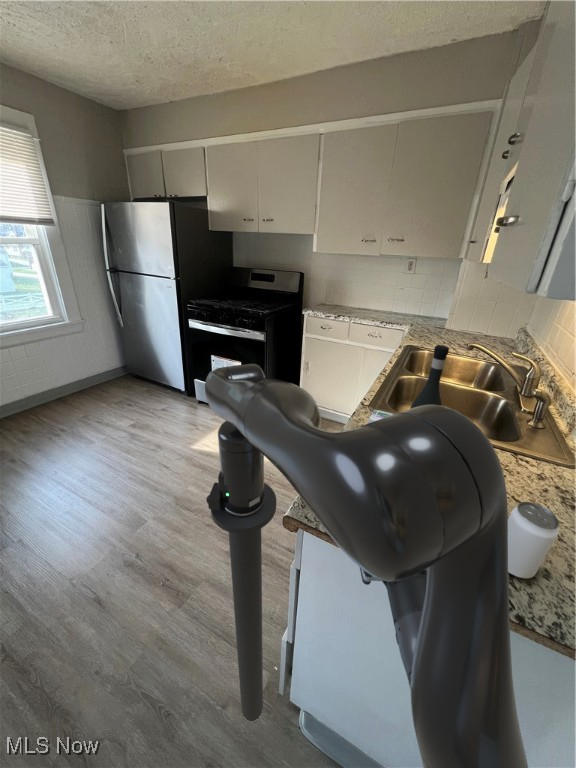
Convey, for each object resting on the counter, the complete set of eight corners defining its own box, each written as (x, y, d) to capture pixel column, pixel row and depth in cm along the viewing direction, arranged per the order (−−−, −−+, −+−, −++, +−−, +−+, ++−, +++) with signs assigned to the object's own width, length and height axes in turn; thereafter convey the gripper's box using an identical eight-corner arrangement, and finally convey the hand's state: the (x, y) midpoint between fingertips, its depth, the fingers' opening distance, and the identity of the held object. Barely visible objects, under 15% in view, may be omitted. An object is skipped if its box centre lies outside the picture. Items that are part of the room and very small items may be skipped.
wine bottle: (437, 452, 86) (467, 347, 73) (422, 464, 81) (451, 354, 68) (410, 438, 91) (434, 339, 78) (395, 448, 86) (417, 345, 74)
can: (513, 543, 60) (536, 497, 55) (544, 576, 55) (573, 527, 49) (484, 549, 59) (505, 502, 54) (513, 583, 53) (540, 534, 48)
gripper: (497, 619, 36) (444, 508, 51) (372, 607, 37) (355, 501, 51) (478, 653, 39) (433, 540, 54) (364, 642, 40) (350, 533, 55)
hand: (395, 521), depth 53 cm, fingers open, 8 cm apart
